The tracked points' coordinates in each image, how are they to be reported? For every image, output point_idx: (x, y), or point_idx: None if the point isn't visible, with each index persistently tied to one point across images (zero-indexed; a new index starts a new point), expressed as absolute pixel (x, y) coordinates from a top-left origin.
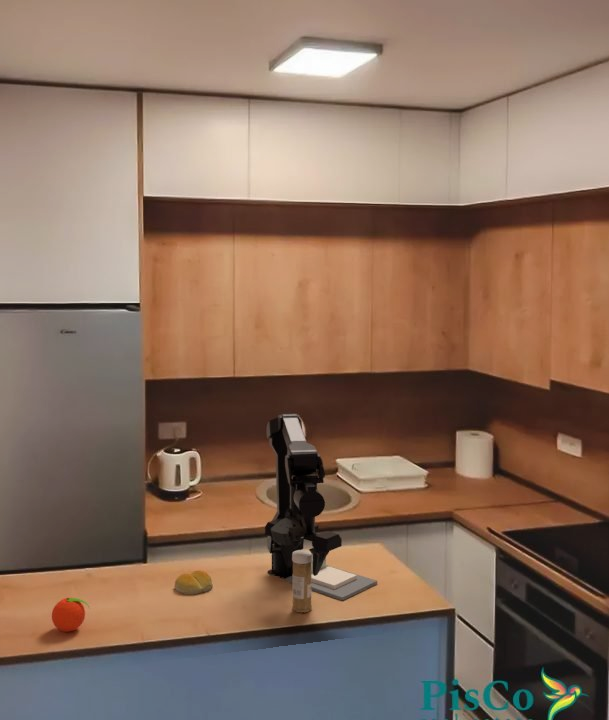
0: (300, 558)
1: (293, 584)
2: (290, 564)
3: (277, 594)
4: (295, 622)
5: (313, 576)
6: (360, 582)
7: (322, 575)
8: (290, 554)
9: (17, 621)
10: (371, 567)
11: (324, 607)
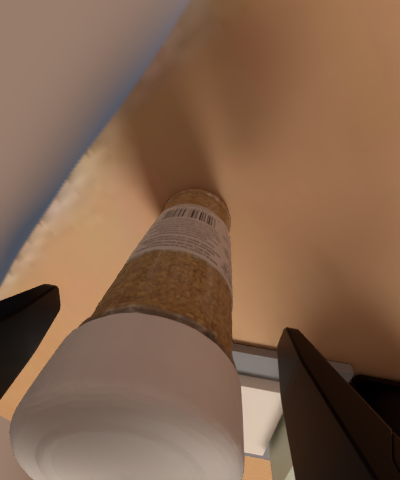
0: (66, 366)
1: (208, 233)
2: (280, 354)
3: (334, 280)
4: (150, 107)
5: (268, 400)
6: None
7: (247, 412)
8: (305, 439)
9: None
10: None
11: None
